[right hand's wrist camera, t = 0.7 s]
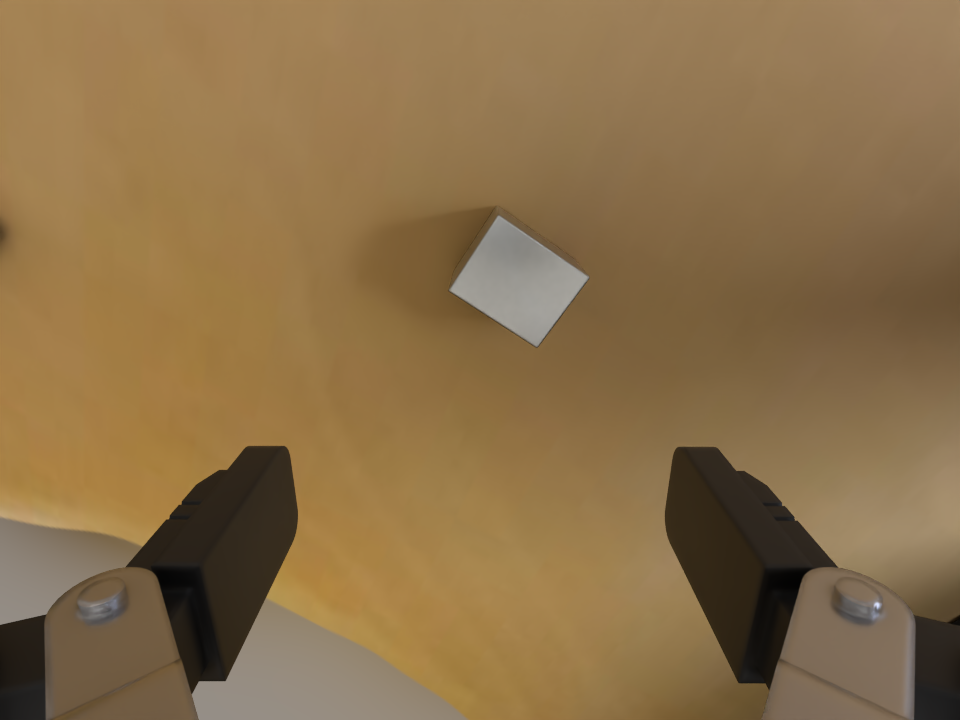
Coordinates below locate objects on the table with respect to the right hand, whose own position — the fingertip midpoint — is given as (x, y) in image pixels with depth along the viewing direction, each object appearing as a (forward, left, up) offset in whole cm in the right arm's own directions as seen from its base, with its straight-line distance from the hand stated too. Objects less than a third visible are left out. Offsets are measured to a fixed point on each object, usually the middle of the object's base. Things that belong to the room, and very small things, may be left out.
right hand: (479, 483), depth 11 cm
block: (-2, -1, -18) cm, 18 cm away
